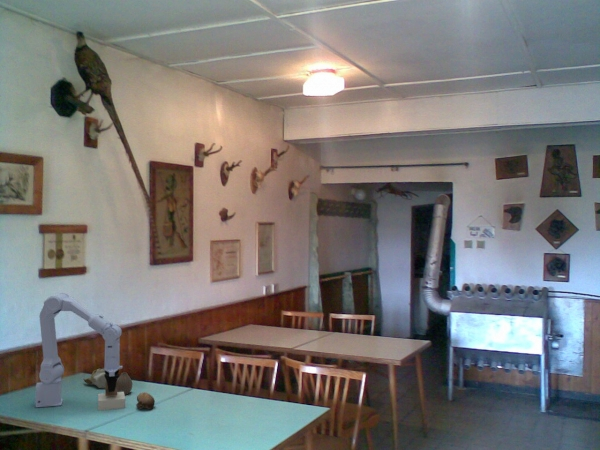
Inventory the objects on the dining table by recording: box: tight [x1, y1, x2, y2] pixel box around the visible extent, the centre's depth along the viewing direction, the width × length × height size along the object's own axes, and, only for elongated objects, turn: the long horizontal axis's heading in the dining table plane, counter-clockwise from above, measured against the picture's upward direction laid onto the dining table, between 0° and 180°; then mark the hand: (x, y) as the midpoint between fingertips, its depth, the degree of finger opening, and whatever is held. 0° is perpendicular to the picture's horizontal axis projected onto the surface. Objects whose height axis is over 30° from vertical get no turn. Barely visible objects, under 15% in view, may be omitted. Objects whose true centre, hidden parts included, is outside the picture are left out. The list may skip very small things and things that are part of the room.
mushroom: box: [135, 392, 155, 410], centre depth 230 cm, size 8×8×6 cm
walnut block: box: [105, 381, 118, 396], centre depth 233 cm, size 4×4×5 cm
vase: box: [117, 372, 133, 396], centre depth 249 cm, size 7×7×9 cm
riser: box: [97, 392, 126, 411], centre depth 233 cm, size 10×10×4 cm
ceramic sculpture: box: [83, 366, 106, 389], centre depth 260 cm, size 11×9×15 cm
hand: (111, 389), depth 233 cm, fingers closed on walnut block, 4 cm apart
